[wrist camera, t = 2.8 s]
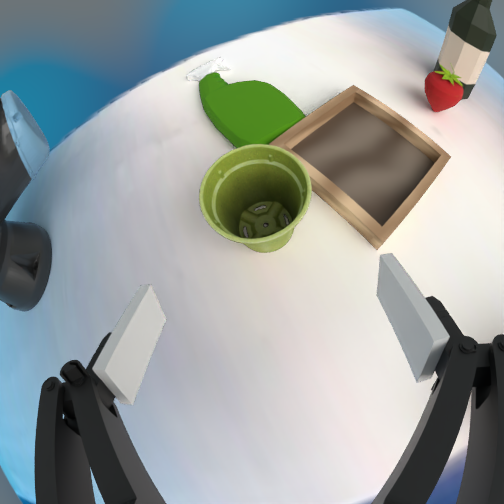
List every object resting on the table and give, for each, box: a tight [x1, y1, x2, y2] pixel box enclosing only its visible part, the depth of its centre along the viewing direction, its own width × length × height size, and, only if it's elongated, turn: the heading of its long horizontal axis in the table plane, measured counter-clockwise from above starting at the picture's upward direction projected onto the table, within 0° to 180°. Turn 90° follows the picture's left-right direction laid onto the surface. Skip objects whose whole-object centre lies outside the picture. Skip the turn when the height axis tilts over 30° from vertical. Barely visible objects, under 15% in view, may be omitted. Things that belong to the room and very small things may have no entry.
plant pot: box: [199, 144, 312, 253], centre depth 26 cm, size 9×9×9 cm
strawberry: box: [425, 63, 463, 112], centre depth 27 cm, size 6×8×10 cm
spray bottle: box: [186, 57, 305, 148], centre depth 36 cm, size 3×11×24 cm
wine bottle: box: [433, 0, 496, 99], centre depth 19 cm, size 8×8×30 cm
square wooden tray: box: [269, 85, 451, 250], centre depth 30 cm, size 17×17×2 cm
